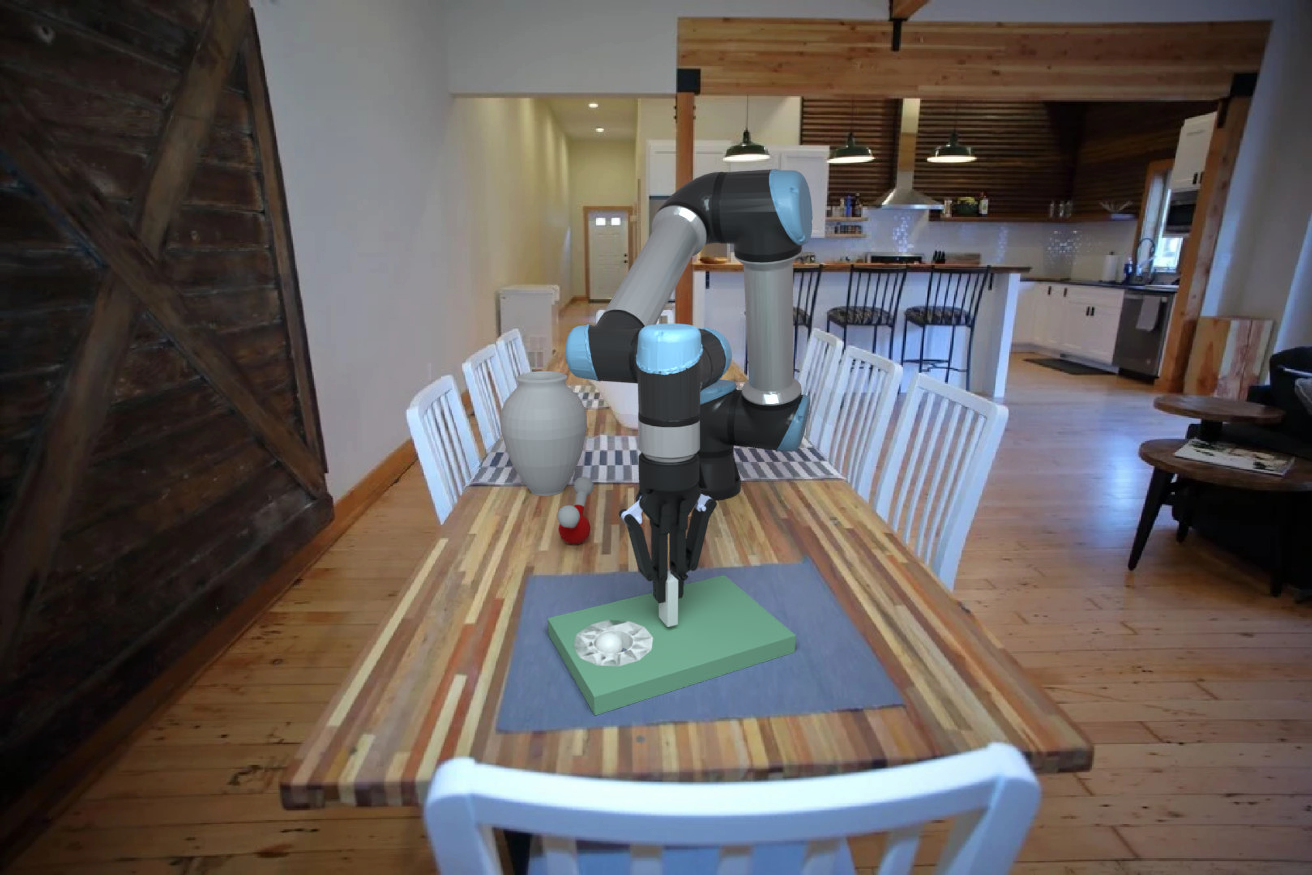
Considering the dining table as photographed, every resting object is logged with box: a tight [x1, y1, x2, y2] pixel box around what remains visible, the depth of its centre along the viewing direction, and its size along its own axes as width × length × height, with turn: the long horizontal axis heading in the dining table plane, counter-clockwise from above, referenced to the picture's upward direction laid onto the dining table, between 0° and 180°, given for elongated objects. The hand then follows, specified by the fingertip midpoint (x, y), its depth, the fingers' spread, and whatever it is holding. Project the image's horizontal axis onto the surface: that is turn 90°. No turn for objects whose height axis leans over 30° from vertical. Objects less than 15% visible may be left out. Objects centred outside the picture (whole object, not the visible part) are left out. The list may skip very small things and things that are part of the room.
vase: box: [499, 370, 588, 497], centre depth 140 cm, size 18×18×25 cm
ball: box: [595, 632, 624, 654], centre depth 86 cm, size 4×4×4 cm
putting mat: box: [547, 574, 797, 716], centre depth 90 cm, size 28×18×2 cm, turn 116°
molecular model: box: [556, 476, 595, 546], centre depth 118 cm, size 18×6×10 cm, turn 175°
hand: (668, 620), depth 89 cm, fingers closed
